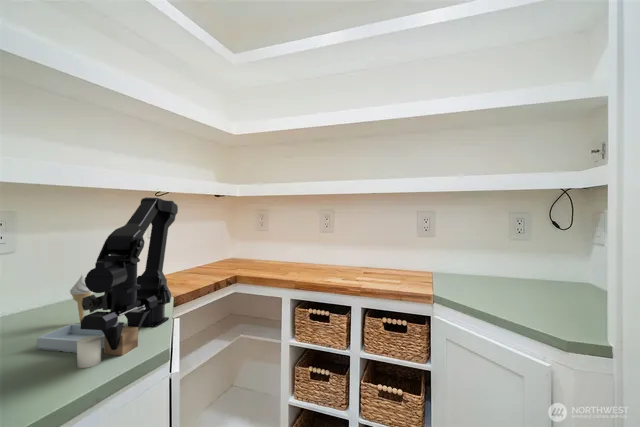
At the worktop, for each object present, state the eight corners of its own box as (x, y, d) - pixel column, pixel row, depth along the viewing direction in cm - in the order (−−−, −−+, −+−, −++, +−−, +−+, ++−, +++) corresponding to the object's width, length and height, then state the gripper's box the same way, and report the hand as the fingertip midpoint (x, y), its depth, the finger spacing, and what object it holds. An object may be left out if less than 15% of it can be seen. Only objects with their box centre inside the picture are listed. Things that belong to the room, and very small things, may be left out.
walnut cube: (120, 344, 77) (120, 325, 77) (137, 346, 76) (138, 327, 76) (104, 353, 72) (104, 333, 72) (122, 355, 71) (122, 335, 71)
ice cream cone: (97, 319, 93) (97, 272, 93) (83, 326, 88) (84, 276, 87) (79, 319, 93) (79, 272, 93) (64, 326, 87) (64, 276, 87)
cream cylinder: (87, 358, 70) (87, 335, 70) (105, 358, 70) (105, 335, 70) (71, 368, 66) (71, 343, 65) (91, 368, 65) (91, 344, 65)
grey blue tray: (71, 334, 82) (71, 323, 82) (120, 338, 81) (120, 327, 81) (37, 349, 73) (37, 337, 73) (91, 354, 72) (91, 342, 72)
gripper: (122, 274, 84) (122, 328, 84) (58, 291, 66) (57, 360, 66) (159, 275, 83) (158, 330, 83) (104, 292, 65) (103, 363, 64)
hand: (123, 344), depth 74 cm, fingers open, 5 cm apart
